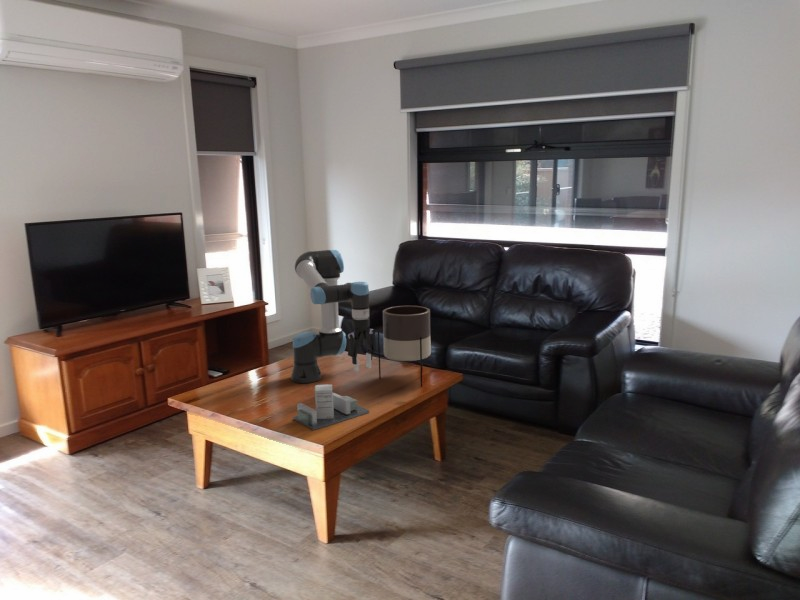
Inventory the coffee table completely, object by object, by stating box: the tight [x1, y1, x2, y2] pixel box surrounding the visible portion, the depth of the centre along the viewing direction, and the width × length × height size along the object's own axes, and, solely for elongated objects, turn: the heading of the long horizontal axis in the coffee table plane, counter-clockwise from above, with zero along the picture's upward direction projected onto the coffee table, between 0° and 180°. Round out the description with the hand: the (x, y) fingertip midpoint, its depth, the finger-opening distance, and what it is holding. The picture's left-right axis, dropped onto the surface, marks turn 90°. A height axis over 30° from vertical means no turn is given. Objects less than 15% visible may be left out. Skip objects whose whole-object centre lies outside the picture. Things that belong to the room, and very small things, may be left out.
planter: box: [377, 305, 432, 388], centre depth 299 cm, size 26×25×35 cm
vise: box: [292, 402, 370, 431], centre depth 256 cm, size 16×28×7 cm, turn 130°
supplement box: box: [314, 383, 334, 419], centre depth 253 cm, size 7×7×13 cm
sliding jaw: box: [333, 392, 358, 414], centre depth 260 cm, size 12×7×6 cm, turn 40°
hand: (362, 369), depth 264 cm, fingers open, 6 cm apart
